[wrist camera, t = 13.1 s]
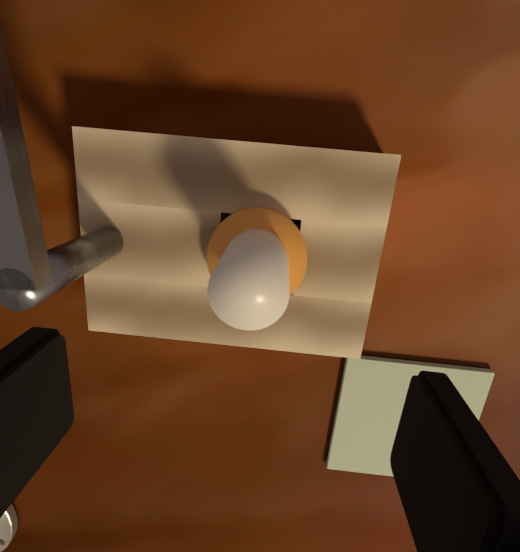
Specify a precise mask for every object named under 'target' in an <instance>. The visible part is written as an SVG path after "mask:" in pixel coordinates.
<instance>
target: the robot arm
mask: <svg viewBox="0 0 520 552" xmlns="http://www.w3.org/2000/svg"><path fill="white" fill-rule="evenodd" d="M73 419H74V411H73V402H72V394H71V385H70V377H69V368H68V359H67V351H66V342H65V338H64V336H62V335H60V333H59V331H58V330H56V329H50V328H41V327H33V328H31V329H29V330H28V331H26V332H25V333H23V334H22V335H21V336H19V337H18V338H16V339H15V340H13V341H12V342H11V343H9V344H8V345H6V346H5V347H4V348H2V349H1V350H0V552H2V551H3V550H4V549H5V548H6V547H7V546H8V545H9V543H10V542H11V540H12V539H13V537H14V536H15V533H16V531H17V525H18V520H17V515H16V512H15V509H14V507H13V505H12V502H13V501H14V500H15V499H16V497H17V496H18V495H19V493H20V492H21V491H22V490H23V488H24V487H25V486H26V484H27V483H28V482H29V481H30V479H31V478H32V477H33V475H34V474H35V473H36V472H37V470H38V469H39V468H40V466H41V465H42V464H43V463H44V461H45V460H46V459H47V457H48V456H49V455H50V454H51V452H52V451H53V450H54V448H55V447H56V446H57V444H58V443H59V442H60V441H61V439H62V438H63V437H64V435H65V434H66V433H67V432H68V430H69V429H70V427H71V425H72V423H73ZM390 464H391V469H392V473H393V476H394V479H395V482H396V485H397V489H398V492H399V495H400V498H401V501H402V505H403V508H404V511H405V514H406V517H407V520H408V524H409V527H410V530H411V533H412V536H413V539H414V543H415V546H416V549H417V552H520V480H519V479H518V477H517V476H516V474H515V473H514V471H513V470H512V469H511V467H510V466H509V464H508V463H507V461H506V460H505V458H504V457H503V455H502V454H501V453H500V451H499V450H498V448H497V447H496V445H495V444H494V442H493V441H492V439H491V438H490V437H489V435H488V434H487V432H486V431H485V429H484V428H483V426H482V425H481V424H480V422H479V421H478V419H477V418H476V416H475V415H474V413H473V412H472V410H471V409H470V408H469V406H468V405H467V403H466V402H465V400H464V399H463V397H462V396H461V394H460V393H459V392H458V390H457V389H456V387H455V386H454V384H453V383H452V381H451V380H450V379H449V377H448V376H447V375H446V374H445V373H440V372H431V371H420V373H419V374H418V376H416V375H414V376H412V378H411V380H410V384H409V388H408V391H407V395H406V399H405V403H404V406H403V410H402V414H401V418H400V421H399V425H398V429H397V432H396V436H395V440H394V444H393V447H392V451H391V456H390Z"/></svg>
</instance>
